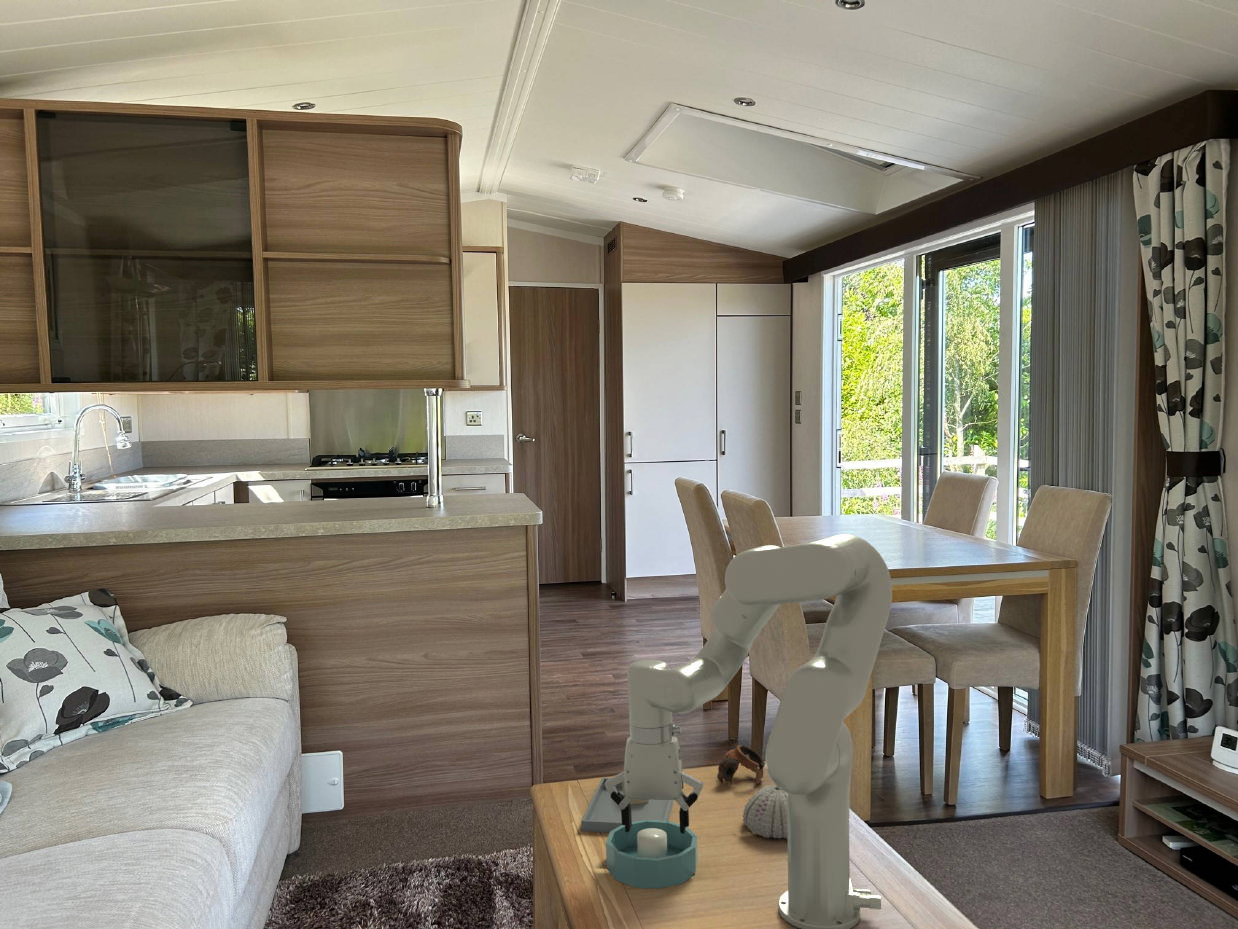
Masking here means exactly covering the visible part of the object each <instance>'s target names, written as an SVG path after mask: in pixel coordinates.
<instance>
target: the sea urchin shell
mask: <svg viewBox="0 0 1238 929" xmlns="http://www.w3.org/2000/svg"><path fill="white" fill-rule="evenodd" d="M787 799H788V793H787V792H784V791H783V790H781V789H780V788H779V787H778V786H776V785H771V784H770V785H766V786H763V787H762V788H759V790H757V791H756V792H755V793H754V794H753V795H752V796H751V798H748V801H747V802H746V804H745V805H744V808H743V815H742V818H743V819H742V821H743V822H744V826H745V827H747V830H749V831H751V832H753V834H755V835H759V836H762V837H763V838H774V839H779V840H781V839H782V838H784V839H786V840H788V830H787Z"/></svg>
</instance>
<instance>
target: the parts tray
mask: <svg viewBox="0 0 1238 929" xmlns="http://www.w3.org/2000/svg"><path fill="white" fill-rule="evenodd" d="M610 778H611V777H601V779H600V780H599V782H598V784H597V785H598V786H597V787H596V789H595V791H594V793H593V795H592V798H591V800H590V802H589V803H588V806H587V808H586V810H585V813H584V815H583V817H582V818H581V820H580V821H581V823H580V825H581V826H580V827H581V830H580V831H581V832H590V833H591V832H592V833H593V832H594V833H610V831H612V830H614V829H616V828H617V827H619V826H621V825H622V818H621V809H620V808H619V805H618V804H617V803H616V802H615V801H613V800H612V799H611V797H610V794H609V793H608V791H607V789H606V787H605V782H606V780H608V779H610ZM615 787H616V789H617V790H618V791H619V792H620V793H621V794H622V782H621V783H619V784H617V785H615ZM622 795H623V794H622ZM674 802H675V800H649V803H639V804H630V805H631V817H632V822H636V821H641V820H662V821H670V816H671V814H672V809H673V805H674Z"/></svg>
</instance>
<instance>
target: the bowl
mask: <svg viewBox="0 0 1238 929" xmlns="http://www.w3.org/2000/svg"><path fill="white" fill-rule="evenodd" d="M648 828H656V829H661V830H663V831H665V832H666V834H667V857H661V858H646V857H638V855H637V834H638V832H639V831H641V830H643V829H648ZM605 848H606V849H605V850H606V852H605V856H606V858H605V859H606V862H605V863H606V867H607V868H606V870H607V872H609V874H610V875H611V876H612V878H613V879H614V880H615V881H616V882H619V883H622V884H624V885H628V886H630V887H633V888H638V889H639V888H640V889H641V888H642V889H656V890H661V889H665V888H670V887H673V886H680V885H683V884H684V883H685V882H687V881H688V880H690V879H692V877H695V876H696V875H695V874H696V873H695V872H696V871H697V866H698V861H699V860H698V858H699V856H698V853H699V852H698V835H697V834H696V833H695V832H693V830H691V829H690V828H689V827H686V828H685V833H684V834H681V833H680V823H677V822H674V821H670V820H669V821H662V820H641V821H636V822H632V826H631V829H630V831H629V832H625V825H621V826H619V827H617V828H616V829H614V830H612V831H610V833H609V834H608V836H607V838H606V841H605Z"/></svg>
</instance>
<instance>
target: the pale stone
mask: <svg viewBox="0 0 1238 929" xmlns="http://www.w3.org/2000/svg"><path fill="white" fill-rule="evenodd" d="M637 855H638V857H646V858H661V857H667V834H666V832H665V831H663V830H661V829H656V828H648V829H643V830H641V831H639V832H638V834H637Z"/></svg>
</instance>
